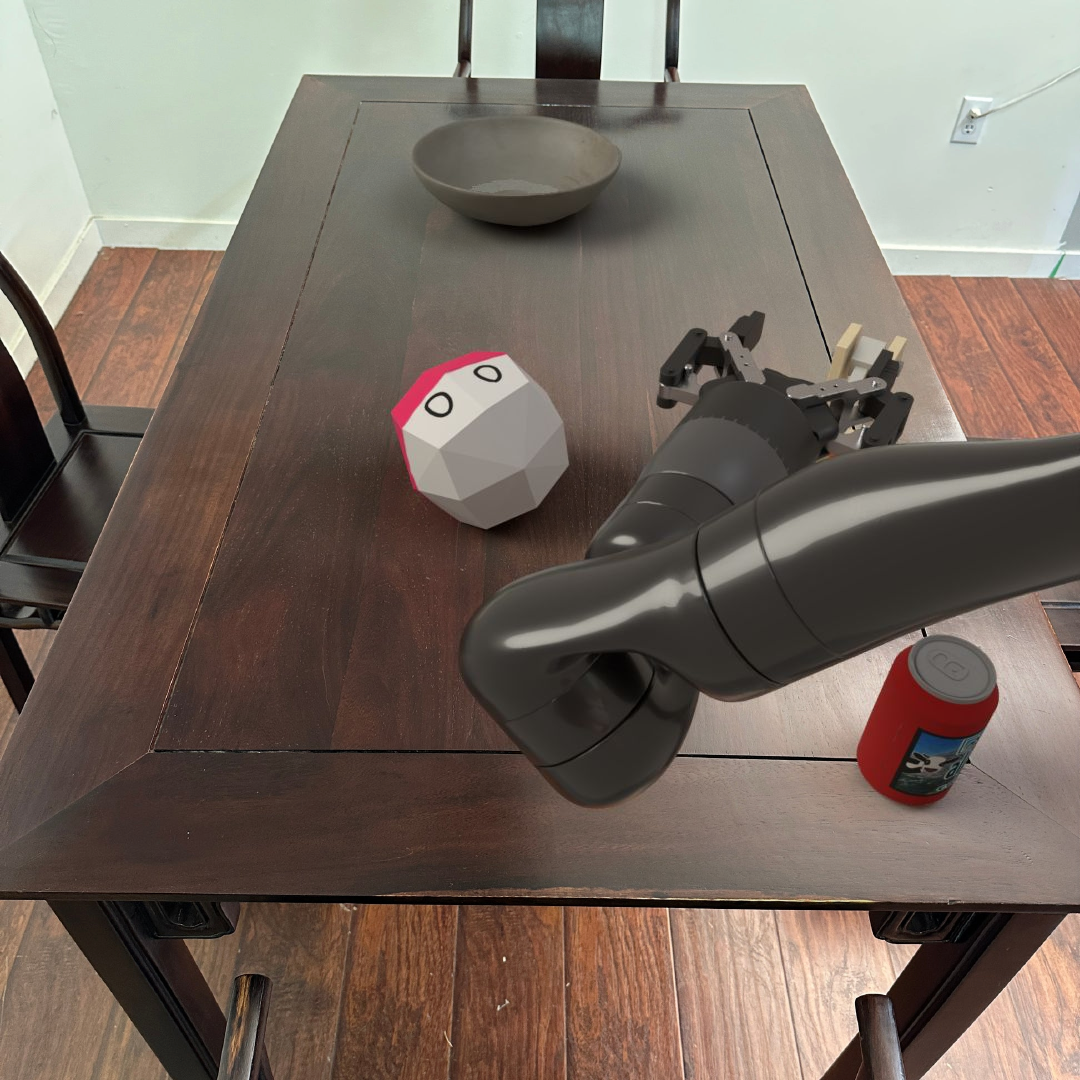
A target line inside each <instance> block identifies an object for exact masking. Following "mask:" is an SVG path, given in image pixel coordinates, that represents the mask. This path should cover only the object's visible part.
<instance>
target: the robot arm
mask: <svg viewBox="0 0 1080 1080" xmlns="http://www.w3.org/2000/svg"><path fill="white" fill-rule="evenodd" d="M765 320H766V313H765V312H762V311H758V310H753V311H752V313H751V314H750V315H746V314H744V315H742V316H740V317H738V318H737V319H736V321H735V322H733V324H732V325H731V327H729V329H728V330H727V331H722V332H720V333H719V334H718V336H712V335H711V336H710V335H709V333H708V331H707V330H706V329H704V328H701V327H695V328H694V327H692V328H691V329H689V330H688V332H687V333H686V334H685V335H684V337H682V340H681V341H680V342H679V344H678V345H677V346H676V347H675V349H674V350H673V351H672V352H671V354H670V355H669V357H668V358H667V359H666V361H665V362H664V363H663V364H662V366H661V367H660V368H659V377H658V382H657V383H658V384H657V391H656V393H657V394H656V402H655V403H656V404H655V405H657V406H658V407H659V408H660V409H663V410H671V409H673V408H675V407H676V405H678V403H682V404H684V405H685V404H686V405H689V406H692V407H691V408H690V409H689V410H688V411H687V413H686V414H685V415H684V416H683V418H682V419H681V420H680V421H679V422H678V424H677V425H676V426H675V428H674V429H673V430H672V431H671V432H670V433H669V435H668V436H666V437H667V438H666V439H665V440H664V441H663V442H662V444H660V446H659V447H658V448H657V449H656V451H655V452H653V454H652V456H651V457H650V458H649V459H648V460H647V462H646V464H645V465H644V467H643V469H642V471H641V473H640V474H639V477H638V478H637V480H636V482H635V484H633V486H632V488H631V489H630V490H629V491H628V493H627V494H626V495H625V497H624V498H623V499H622V500H621V501H620V503H619V504H618V505H617V507H616V508H615V509H614V510H613V511H612V512H611V514H610V515H609V516H608V517H607V518H606V519H605V520H604V522H603V523H602V524H601V525H600V527H599V528H598V529H597V531H596V532H595V534H594V535H593V536H592V538H591V540H590V541H589V543H588V545H587V548H586V551H585V554H584V559H581V560H577V561H576V560H575V561H572V562H566V563H563V564H557V565H554V566H550V567H547V568H543V569H539V570H537V571H534V572H531V573H529V574H526V575H524V576H521V577H518V578H516V579H515V580H513V581H511V582H509V583H508V584H505V585H504V586H502V587H501V588H499V589H498V590H496V591H495V592H493V593H492V594H491V595H490V596H488V597H487V598H486V599H485V600H484V601H483V602H482V603H481V604H480V605H479V606H478V607H477V608H476V609H475V611H474V612H473V614H471V617H469V619H468V621H467V623H466V625H465V626H464V630H463V632H462V635H461V637H460V640H459V645H458V651H457V665H458V666H457V667H458V671H459V675H460V677H461V679H462V683H464V685H465V687H466V688H467V690H468V691H469V694H470V695H471V696H472V697H473V698H474V699H475V700H476V702H477V703H478V704H479V705H480V706H481V708H482V709H483V710H484V711H485V712H486V714H487V715H488V716H489V717H490V718H491V719H492V720H493V721H494V722H495V724H497V726H498V727H499V728H500V729H501V730H502V731H503V733H504V734H505V735H506V736H507V738H509V740H510V741H512V743H513V744H514V745H515V747H517V749H518V750H519V751H520V752H521V753H522V754H523V756H524V757H525V758H526V759H527V760H528V761H529V762H530V763H531V764H532V766H533V767H534V768H535V769H536V771H537V772H538V773H539V774H540V776H542V778H543V779H544V780H545V781H546V782H547V783H548V784H549V785H550V786H551V787H552V788H553V790H554V791H555V792H557V794H559V795H560V796H561V797H562V798H564V799H565V800H566V801H567V802H569V803H571V804H573V805H576V806H578V807H581V808H584V809H585V808H586V809H591V810H602V809H603V810H604V809H609V808H614V807H618V806H620V805H624V804H625V803H627V802H630V801H631V800H633V799H635V798H638V797H639V796H640V795H642V794H644V792H646V791H647V790H648V789H650V787H652V786H653V785H654V784H656V782H657V781H658V780H659V779H660V778H661V777H663V775H664V774H665V773H666V771H667V770H668V769H669V767H670V766H671V764H672V763H673V762H674V760H675V759H676V757H677V756H678V754H679V752H680V751H681V748H683V747H682V746H683V745H684V742H685V740H686V738H687V736H688V734H689V732H690V728H691V726H692V724H693V720H694V717H695V713H696V709H697V706H698V702H699V697H700V693H702V694H704V695H706V696H707V697H708V698H711V699H712V700H716V701H719V702H724V703H732V704H733V703H743V702H747V701H750V700H755V699H757V698H760V697H763V696H765V695H767V694H770V693H773V692H776V691H778V690H780V689H782V688H785V687H788V686H789V685H792V684H793V683H796V682H799V681H801V680H803V679H805V678H808V677H810V676H812V675H815V674H817V673H820V672H822V671H824V670H826V669H830V668H831V667H834V666H836V665H839V664H841V663H844V662H846V661H848V660H850V659H853V658H855V657H858V656H860V655H862V654H865V653H867V652H870V651H872V650H874V649H877V648H878V647H880V646H881V647H882V646H884V645H885V644H889V643H890V642H893V641H894V640H897V639H900V638H902V637H904V636H907V635H909V634H912V633H914V632H917V631H920V630H923V629H925V628H928V627H930V626H933V625H935V624H936V625H937V624H939V623H941V622H944V621H948V620H949V619H952V618H955V617H959V616H963V615H964V614H968V613H972V612H973V611H977V610H980V609H983V608H986V607H989V606H992V605H993V606H994V605H995V604H999V603H1003V602H1006V601H1009V600H1012V599H1013V600H1014V599H1017V598H1019V597H1024V596H1027V595H1030V594H1033V593H1037V592H1040V591H1041V592H1042V591H1044V590H1049V589H1052V588H1056V587H1060V586H1062V585H1066V584H1070V583H1075V582H1079V581H1080V431H1079V432H1071V433H1063V434H1055V435H1049V436H1041V437H1030V438H1012V439H1011V438H1009V439H994V440H993V439H992V440H960V441H959V440H957V441H956V440H955V441H954V440H953V441H927V442H926V441H925V442H924V441H923V442H908V443H907V442H905V443H904V442H903V443H898V441H899V439H900V438H901V436H902V435H903V433H904V430H905V427H906V425H907V421H908V419H909V415H910V413H911V410H912V407H913V404H914V402H915V397H914V396H913V395H912V394H911V393H908V392H905V391H896V392H894V393H893V392H892V389H893V387H894V385H895V382H896V379H897V377H896V376H897V373H898V370H899V367H900V366H899V362H898V361H895V360H892V358H893V355H894V352H892V351H889V350H888V349H886V350H885V349H882V351H881V352H880V354H879V356H878V357H877V359H876V360H875V362H874V364H873V365H872V367H871V368H870V370H869V372H868V373H867V375H866V379H862V380H858V381H854V382H848V380H846V379H845V378H839V379H835V380H830V381H827V380H826V381H823V382H822V381H821V382H819V383H815V382H812V381H809V380H806V379H803V378H797V377H791V376H788V375H787V374H783V372H780V371H778V370H775V369H772V368H768V367H764V369H759V368H758V365H757V364H756V361H755V359H754V358H753V355H752V351H753V350H754V349H755V347H756V346H757V345H758V344H759V342H760V340H761V337H762V334H763V331H764V330H763V329H764V324H765ZM703 366H708V367H709V366H710V367H713V372H714V373H715V376H716V378H714V379H711V380H708V381H706V382H705V383H703V384H702V385H700V384H699V383H698V382H697V380H698V374H699V373H700V371H701V370H702V368H703ZM829 401H831V402H830V406H828V404H827V402H829ZM856 403H857V405H855V404H856ZM871 421H874V422H873V423H872V425H871V424H869V423H867V422H871ZM859 425H861V426H862V427H861V426H860V428H857V429H854V430H855V431H854V432H852V433H849V434H844V433H845V432H846V431H847V429H848V428H849V429H850V428H851V427H855V426H859ZM829 454H834V455H836V456H832V457H830V458H827V459H824V460H821V461H819V462H816V461H818V460H819V459H821V458H824V457H826V456H828V455H829ZM815 462H816V463H815Z"/></svg>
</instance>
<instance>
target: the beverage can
mask: <svg viewBox="0 0 1080 1080" xmlns="http://www.w3.org/2000/svg"><path fill="white" fill-rule="evenodd" d="M997 680H998V674H997V670H996V667H995V665H994V663H993V661H992V660H991V658H990V657H989V656H988V655H987V654H986V653H985V652H984V651H983V649H981V648H979V646H977V645H976V644H974V643H972V642H971V641H968V640H967V639H964V638H962V637H958V636H955V635H950V634H931V635H927V636H924V637H922V638H920V639H919V640H917V641H916V642H915V643H913V644H911V645H909V646H907V647H905V648H904V649H902V650H901V651H900V652H899V653H897V655H896V657H895V658H894V660H893V661H892V664H891V666H890V669H889V671H888V673H887V675H886V677H885V680H884V681H883V684H882V687H881V689H880V691H879V693H878V695H877V698H876V700H875V703H874V705H873V708H872V710H871V712H870V715H869V717H868V720H867V721H866V724H865V727H864V729H863V731H862V733H861V737H860V739H859V741H858V744H857V746H856V762H857V766H858V768H859V771H860V774H861V775H862V777H863V778H864V780H865V781H866V782H867V783H868V784H869V785H870V786H871V787H872V789H873V790H875V792H877V793H879V794H880V795H882V796H883V797H885V798H886V799H888V800H891V801H892V802H895V803H898V804H902V805H905V806H910V807H911V806H912V807H922V806H928V805H932V804H934V803H937V802H939V801H941V799H943V798H945V796H946V795H947V794H948V793H949V791H950V790H951V788H952V786H953V785H954V783H955V782H956V780H957V779H958V776H959V775H960V773H961V771H962V770H963V768H964V767H965V765H966V763H967V762H968V760H969V758H970V757H971V754H972V753H973V752H974V749H975V747H976V746H977V744H978V742H979V741H980V740H981V738H982V735H983V734H984V732H985V730H986V729H987V727H988V725H989V723H990V721H991V719H992V717H993V716H994V714H995V712H996V710H997V708H998V706H999V703H1000V689H999V685H998V682H997Z"/></svg>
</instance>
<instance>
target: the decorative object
mask: <svg viewBox="0 0 1080 1080" xmlns="http://www.w3.org/2000/svg"><path fill="white" fill-rule="evenodd" d="M390 414H391V417H392V421H393V425H394V429H395V431H396V434H397V438H398V441H399V445H400V449H401V451H402V454H403V459H404V461H405V465H406V469H407V472H408V475H409V478H410V482H411V486H412V489H413V490H414V491H415V492H417V493H418V494H419V495H421V496H422V497H423V498H425V499H426V500H428V501H429V502H431V503H432V504H433V505H435V506H436V507H437V508H439V509H440V510H442V511H443V512H444V513H446V514H448V515H449V516H450V517H451V518H453V519H454V520H456V521H457V522H460V523H463V524H468V525H471V526H474V527H477V528H480V529H484V530H488V529H490V528H492V527H495V526H498V525H500V524H502V523H504V522H507V521H509V520H512V519H514V518H516V517H518V516H521V515H523V514H525V513H528V512H530V511H532V510H536V509H537V508H538V507H539V505H540V504H541V503H542V502H543V500H545V498H546V496H547V495H548V494H549V493H550V491H551V490H552V488H553V487H554V485H556V483H557V482H558V480H559V479H560V478H561V477H562V475H563V474H564V472H565V471H566V470H567V469H568V468H569V466H570V463H569V461H570V460H569V454H568V448H567V440H566V439H567V438H566V433H565V426H564V421H563V419H562V418H561V415H560V414H559V412H558V410H557V408H556V407H555V405H554V403H553V401H552V399H551V397H550V396H549V394H548V392H547V391H546V390H545V389H544V387H543V386H542V385H541V384H539V383H538V382H537V381H536V380H535V379H534V378H533V376H531V375H530V374H529V373H528V372H527V371H526V370H524V368H523V367H522V366H520V365H519V364H518V363H517V362H516V361H515V360H514V359H513V358H512V357H511V356H510V355H509V354H508V353H507V352H506V351H486V350H485V351H483V350H481V351H480V350H475V351H471V352H469V353H467V354H464V355H462V356H459V357H457V358H454V359H451V360H449V361H446V362H444V363H440V364H439V365H436V366H434V367H431V368H429V369H426V370H424V371H423V372H422V373H421V375H419V377H418V378H417V379H416V381H415V382H414V383H413V384H412V386H411V387H410V388H409V389H408V390H407V392H406V393H405V394H404V395H403V397H402V398H401V399H400V400H399V402H398V403H397V404H396V405H395V407H394V408H393V409H392V410H391V411H390Z"/></svg>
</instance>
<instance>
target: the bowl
mask: <svg viewBox="0 0 1080 1080" xmlns="http://www.w3.org/2000/svg"><path fill="white" fill-rule="evenodd" d="M622 159H623V154H622V150H620V148H619V147H618V146H616V145H615V144H614V143H613V142H612V141H611V140H610V139H609V138H607V137H606V136H604V135H603V134H601V133H600V132H598V131H597V130H595V129H593V128H591V127H588V126H585V125H583V124H580V123H577V122H573V121H568V120H565V119H561V118H560V119H559V118H555V117H549V116H543V115H542V116H540V115H528V114H527V115H526V114H500V115H490V116H480V117H472V118H468V119H467V118H466V119H461V120H457V121H453V122H449V123H446V124H443V125H440V126H438V127H436V128H434V129H432V130H430V131H428V132H427V133H425V134H424V135H423V136H421V137H420V138H419V139H418V140H417V141H416V142H415V144H414V146H413V148H412V150H411V155H410V160H411V161H410V162H411V166H412V169H413V171H414V173H415V175H416V177H417V179H418V180H419V182H420V183H421V184H422V186H423V187H424V188H425V189H426V190H427V191H428V192H429V193H430V194H431V195H432V196H433V197H434V198H435V199H436V200H437V201H439V202H440V203H441V204H443V205H444V206H445V207H447V208H448V209H450V210H451V211H453V212H455V213H458V214H460V215H463V216H465V217H469V218H472V219H476V220H478V221H483V222H487V223H492V224H498V225H507V226H515V227H534V226H540V225H546V224H551V223H554V222H557V221H560V220H562V219H564V218H566V217H569V216H571V215H573V214H576V213H578V212H580V211H582V210H583V209H584V208H586V207H587V206H588V205H590V204H591V203H592V202H593V201H594V200H595V199H597V197H598V196H599V195H600V194H601V193H602V192H603V191H604V190H605V189H606V188H607V187H608V185H609V184H610V183H611V181H612V180H614V178H615V176H616V174H617V173H618V171H619V168H620V167H621V163H622ZM508 179H513V180H524V181H527V182H530V183H535V184H542V185H549V186H552V187H553V188H556V189H558V191H557V192H550V193H532V192H527V191H521V190H503V191H498V192H495V193H489V192H481V191H474V190H470V189H472V188H473V187H472V186H477V185H478V186H479V184H480V185H481V184H484V183H492V182H491V181H495V180H497V181H498V180H508ZM474 188H475V187H474ZM533 225H534V226H533Z"/></svg>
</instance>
